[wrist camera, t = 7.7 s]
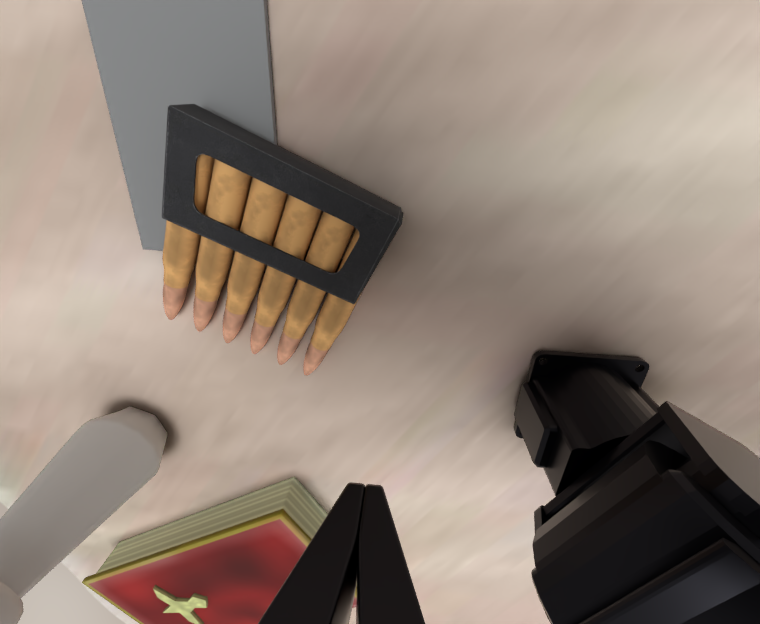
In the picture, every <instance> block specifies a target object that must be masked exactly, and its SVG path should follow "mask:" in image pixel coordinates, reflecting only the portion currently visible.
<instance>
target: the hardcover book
mask: <svg viewBox="0 0 760 624" xmlns="http://www.w3.org/2000/svg"><path fill="white" fill-rule="evenodd" d="M327 515H328V514H327V513H326V511H325V510H324V509H323V508H322V507H321V506H320V505H319V504H318V502H317V501H316V500H315V499H314V498H313V497H312V496H311V495H310V493H309V492H308V491H307V490H306V489H305V488H304V487H303V486H302V484H301V483H300V482H299V481H298V480H297V479H296V478H295V477H292V478H289V479H287V480H284V481H281V482H279V483H276V484H273V485H271V486H268V487H265V488H263V489H260V490H257V491H255V492H252V493H249V494H247V495H244V496H241V497H238V498H236V499H233V500H230V501H228V502H225V503H222V504H220V505H217V506H214V507H212V508H209V509H206V510H204V511H201V512H198V513H196V514H193V515H190V516H188V517H185V518H182V519H180V520H177V521H174V522H172V523H169V524H166V525H164V526H161V527H158V528H156V529H153V530H150V531H147V532H145V533H142V534H139V535H137V536H134V537H131V538H129V539H126V540H123V541H121V542H119V543H118V545H117V546H116V547H115V549H114V550H113V551H112V553H111V554H110V555H109V557H108V558H107V559H106V561H105V562H104V564H103V565H102V566H101V568H100V569H99V570H98V572H97V573H96V574H94V575H91V576H88V577H86V578H85V579H84V580H83V582H82V583H83V584H85V585H86V586H87V587H89V588H90V589H92V590H93V591H94V592H96V593H97V594H99V595H100V596H101V597H103V598H104V599H106V600H107V601H109V602H110V603H111V604H113V605H114V606H116V607H117V608H118V609H120V610H121V611H123V612H124V613H125V614H127V615H128V616H130V617H131V618H132V619H134V620H135V621H137V622H138V623H140V624H258V622H259V621H260V619H261V618H262V616H263V615H264V613H265V612H266V610H267V608H268V607H269V605H270V604H271V602H272V601H273V599H274V598H275V596H276V594H277V593H278V591H279V590H280V588H281V587H282V585H283V584H284V582H285V580H286V579H287V577H288V576H289V574H290V573H291V571H292V570H293V568H294V566H295V565H296V563H297V562H298V560H299V559H300V557H301V556H302V554H303V552H304V551H305V549H306V548H307V546H308V545H309V543H310V541H311V540H312V538H313V537H314V535H315V534H316V532H317V531H318V529H319V527H320V526H321V524H322V523H323V521H324V520H325V518H326V517H327ZM356 599H357V584H356V590H355V596H354V601H353V606H352V608H353V607H356Z"/></svg>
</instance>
